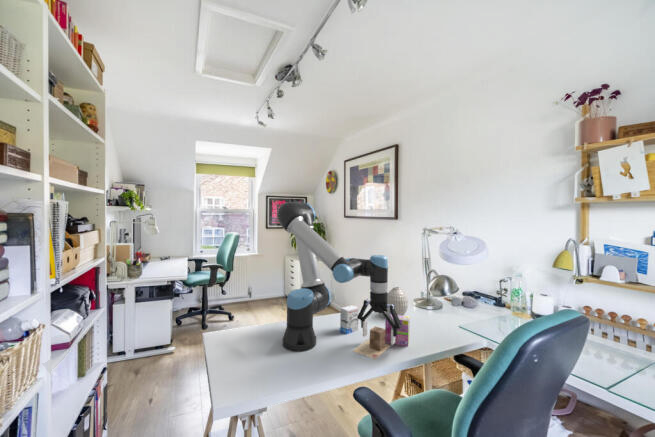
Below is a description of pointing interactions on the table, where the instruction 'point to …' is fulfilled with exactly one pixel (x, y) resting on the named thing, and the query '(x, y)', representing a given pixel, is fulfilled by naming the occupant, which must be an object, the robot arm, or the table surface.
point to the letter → (369, 350)
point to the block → (377, 338)
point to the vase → (398, 300)
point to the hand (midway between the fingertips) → (378, 339)
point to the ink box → (349, 319)
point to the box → (399, 331)
